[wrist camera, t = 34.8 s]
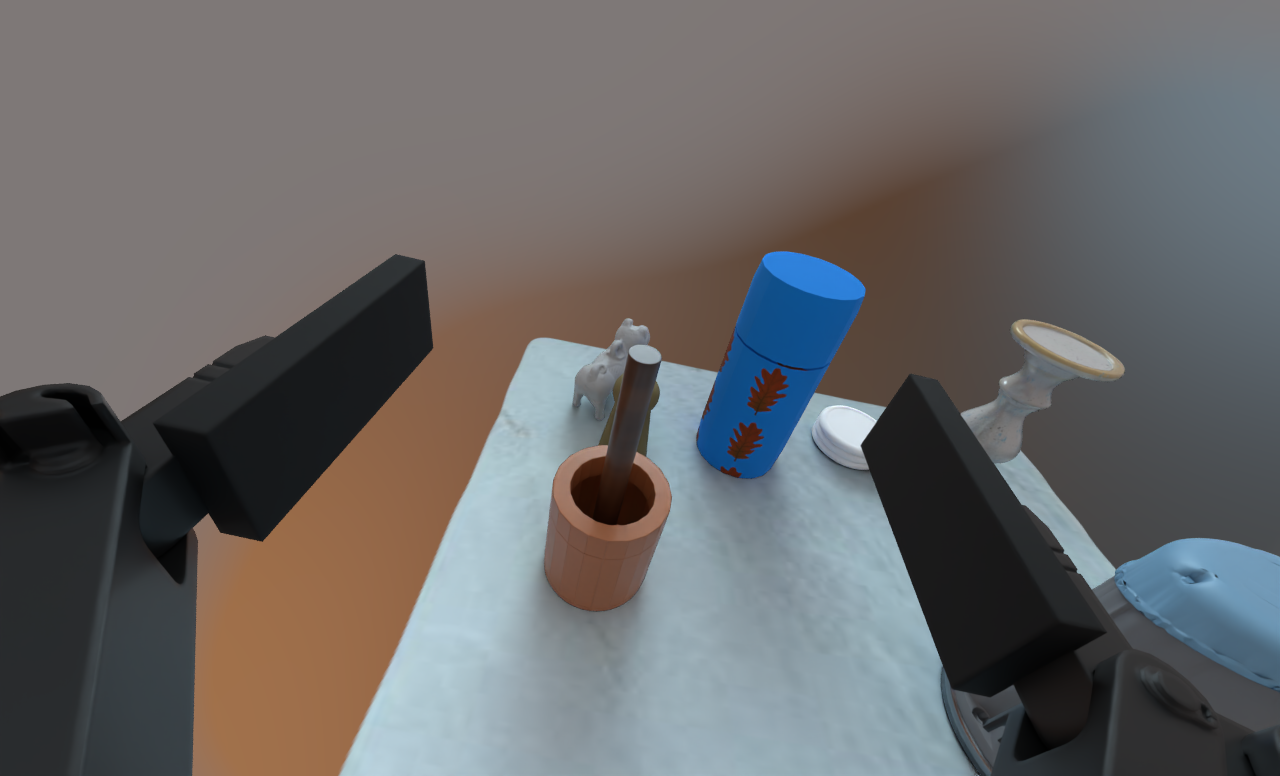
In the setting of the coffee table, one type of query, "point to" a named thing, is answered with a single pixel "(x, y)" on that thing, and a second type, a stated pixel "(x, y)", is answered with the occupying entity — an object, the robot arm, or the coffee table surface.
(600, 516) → the dark long rod
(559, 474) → the orange pencil cup
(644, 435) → the olive pawn
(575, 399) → the dog figurine
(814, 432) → the coaster
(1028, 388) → the candle holder
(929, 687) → the coffee table surface
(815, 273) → the thermos
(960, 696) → the robot arm
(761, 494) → the coffee table surface
